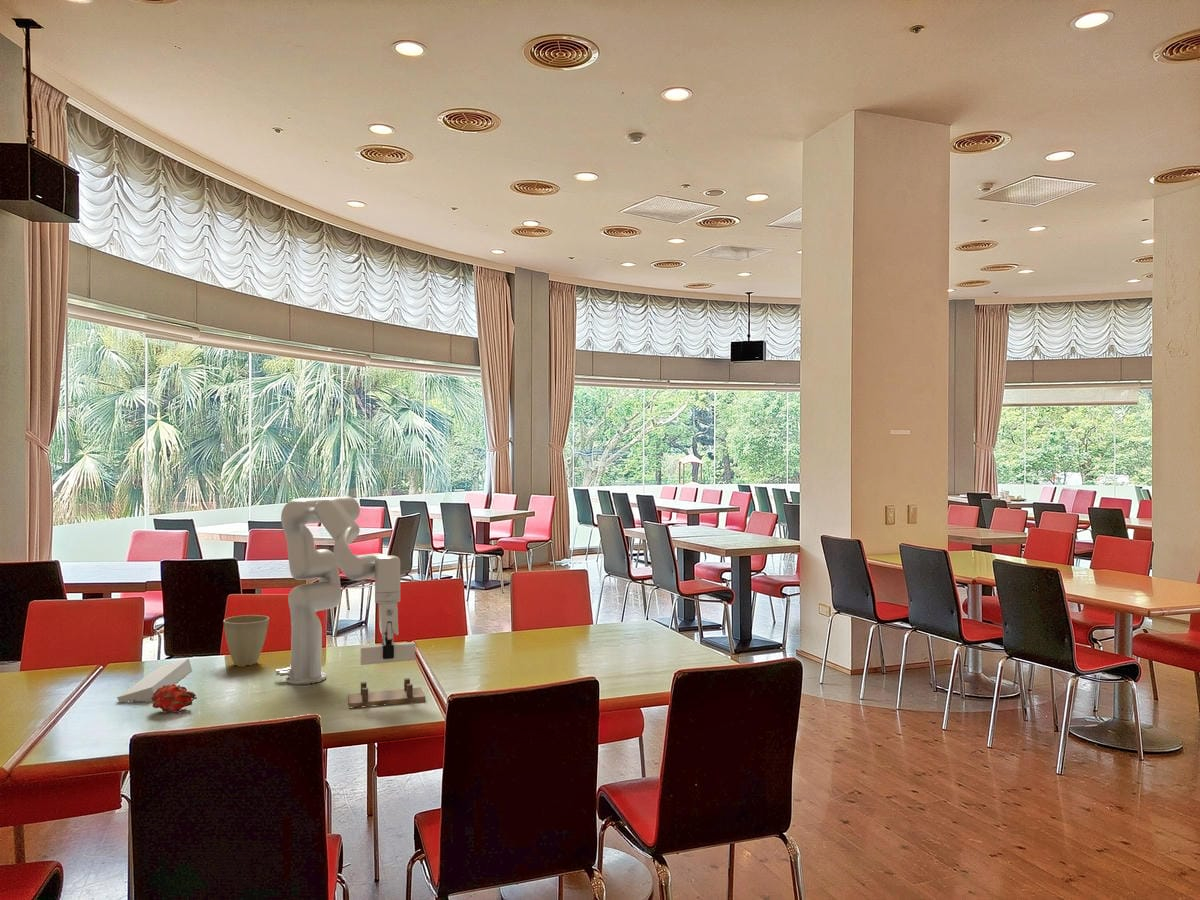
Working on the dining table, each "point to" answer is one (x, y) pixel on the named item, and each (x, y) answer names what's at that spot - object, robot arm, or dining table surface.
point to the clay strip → (375, 653)
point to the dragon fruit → (172, 698)
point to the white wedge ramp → (156, 681)
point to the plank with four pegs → (386, 696)
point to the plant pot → (245, 637)
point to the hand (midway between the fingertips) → (387, 656)
